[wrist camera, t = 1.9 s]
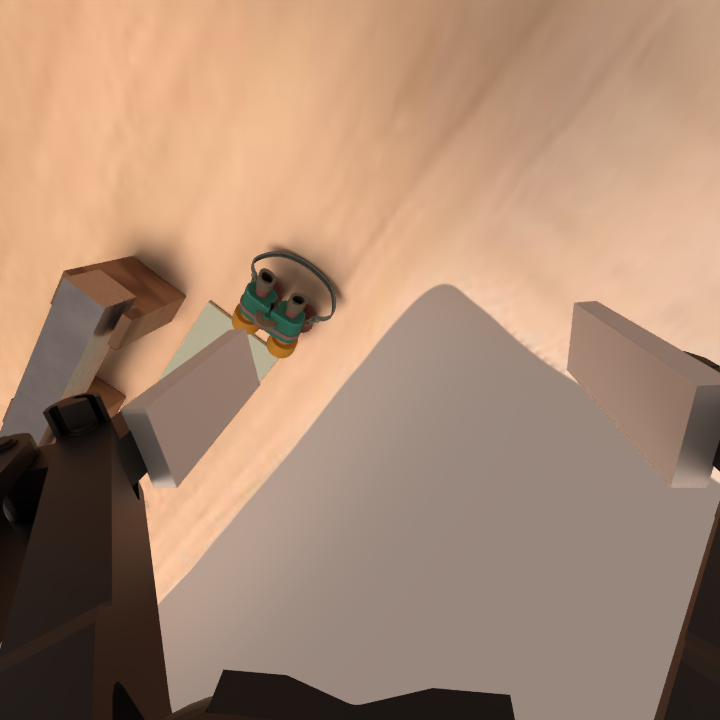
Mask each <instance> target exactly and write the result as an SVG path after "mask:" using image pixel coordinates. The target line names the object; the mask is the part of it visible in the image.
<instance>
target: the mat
mask: <svg viewBox="0 0 720 720" xmlns="http://www.w3.org/2000/svg"><path fill="white" fill-rule="evenodd" d="M231 329H234V327H233V325H232V317H231V316H229V315H228V314H227V313H225V312H224V311H223V310H221V309H220V308H219V307H218V306H216V305H215V304H214V303H212V302H211V301H209V302H208V303H207V305H206V306H205V308H204V309H203V311H202V313H201V314H200V316H199V317H198V319H197V320H196V322H195V324H194V325H193V327H192V328H191V330H190V332H189V333H188V335H187V336H186V338H185V339H184V341H183V343H182V344H181V346H180V347H179V349H178V351H177V352H176V354H175V355H174V357H173V359H172V360H171V362H170V363H169V365H168V366H167V368H166V370H165V371H164V373H163V374H162V376H161V378H160V379H159V381H160V380H161V379H163V378H164V377H165V376H167V375H168V374H169V373H171V372H172V371H173V370H175V369H176V368H178V367H179V366H180V365H182V364H183V363H184V362H186V361H187V360H189V359H190V358H191V357H193V356H194V355H195V354H197V353H198V352H199V351H201V350H202V349H204V348H205V347H206V346H208V345H209V344H210V343H212V342H213V341H214V340H216V339H217V338H219V337H220V336H221V335H223V334H224V333H225V332H227V331H228V330H231ZM247 336H248V340H249V343H250V347H251V351H252V355H253V359H254V363H255V367H256V371H257V375H258V379H259V382H260V381H261V380H262V378H263V377H264V376H265V375H266V373H267V372H268V371H269V370H270V368H271V367H272V366H273V365H274V363H275V362H276V361H277V360H278V358H277V357H274V356H273V355H271V354H270V352H269V351H268V349H267V344H266V343H264V342H263V341H262V340H260V339H259V338H258V337H257V336H255V335H254V334H250V335H247Z"/></svg>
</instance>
